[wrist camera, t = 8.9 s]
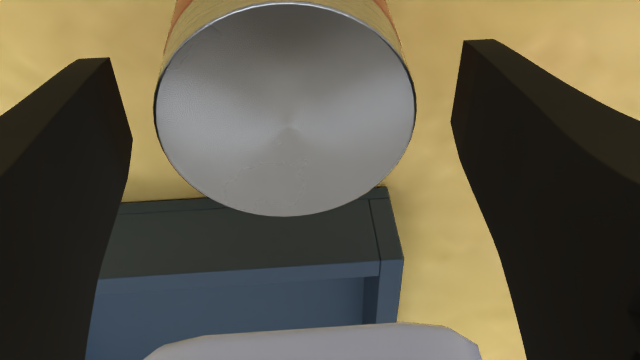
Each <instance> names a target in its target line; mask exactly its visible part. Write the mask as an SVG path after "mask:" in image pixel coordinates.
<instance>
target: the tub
mask: <svg viewBox="0 0 640 360" xmlns="http://www.w3.org/2000/svg"><path fill="white" fill-rule="evenodd" d="M389 198H390V197H389V193H388V189H387V187H382V188H372V189H371V190H370V191H368V192H367V193H365V194H364V195H362V196H360V197H359V198H357V199H355V200H353V201H351V202H349V203H347V204H345V205H342V206H340V207H337V208H334V209H331V210H328V211H324V212H320V213H316V214H311V215H304V216H293V217H272V216H263V215H255V214H251V213H247V212H242V211H239V210H236V209H233V208H230V207H227V206H225V205H222V204H220V203H218V202H216V201H214V200H212V199H210V198H201V199H185V200H168V201H152V202H135V203H120V206H119V210H118V213H117V216H116V220H115V223H114V226H113V229H112V233H111V236H110V239H109V243H108V246H107V249H106V252H105V256H104V259H103V262H102V266H101V270H100V274H99V278H98V282H97V287H96V293H95V299H94V304H93V310H92V316H91V322H90V328H89V335H88V342H87V348H86V355H85V360H143V359H144V358H146V357H147V356H148V355H150V354H151V353H152V352H153V351H155V350H156V349H157V348H159V347H161V346H163V345H165V344H169V343H174V342H178V341H182V340H187V339H191V338H195V337H200V336H204V335H218V334H233V333H248V332H263V331H278V330H292V329H307V328H322V327H337V326H352V325H367V324H382V323H396V322H397V314H398V306H399V297H400V289H401V281H402V273H403V265H404V256H403V252H402V248H401V244H400V240H399V235H398V231H397V227H396V223H395V218H394V214H393V210H392V206H391V201H390V199H389Z"/></svg>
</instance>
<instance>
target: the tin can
mask: <svg viewBox="0 0 640 360" xmlns="http://www.w3.org/2000/svg"><path fill="white" fill-rule="evenodd" d="M416 112H417V104H416V93H415V87H414V82H413V80H412V77H411V74H410V71H409V68H408V66H407V63H406V60H405V57H404V54H403V52H402V49H401V44H400V40H399V38H398V35H397V32H396V29H395V26H394V24H393V21H392V18H391V15H390V13H389V10H388V7H387V4H386V2H385V0H177V2H176V6H175V10H174V14H173V18H172V22H171V26H170V30H169V33H168V37H167V41H166V45H165V49H164V56H163V61H162V65H161V69H160V73H159V77H158V81H157V85H156V89H155V93H154V103H153V115H154V125H155V129H156V133H157V137H158V140H159V142H160V144H161V147H162V149H163V151H164V153H165V155H166V156H167V158H168V160H169V162H170V163H171V165H172V166H173V167H174V168H175V170H176V171H177V172H178V173H179V175H181V176H182V177H183V178H184V179H185V180H186V181H187V182H188V183H189V184H190V185H191V186H192V187H194V188H195V189H196V190H198V191H199V192H200V193H202V194H204V195H205V196H207V197H209V198H210V199H212V200H214V201H216V202H218V203H220V204H222V205H225V206H227V207H230V208H233V209H236V210H239V211H242V212H247V213H251V214H255V215H263V216H272V217H293V216H304V215H311V214H316V213H320V212H324V211H328V210H331V209H334V208H337V207H340V206H342V205H345V204H347V203H349V202H351V201H353V200H355V199H357V198H359V197H360V196H362V195H364V194H365V193H367V192H368V191H370V190H371V189H372V188H374V187H375V186H376V185H378V184H379V183H380V182H381V181H382V180H383V179H384V178H385V177H386V176H387V175H388V174H389V173H390V172H391V171H392V170H393V168H394V167H395V166H396V165H397V164H398V162H399V160H400V159H401V157H402V156H403V154H404V153H405V151H406V148H407V146H408V144H409V142H410V140H411V137H412V133H413V130H414V126H415V120H416Z"/></svg>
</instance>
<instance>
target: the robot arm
mask: <svg viewBox="0 0 640 360" xmlns="http://www.w3.org/2000/svg"><path fill="white" fill-rule="evenodd" d="M451 126H452V131H453V135H454V139H455V144H456V147H457V151H458V155H459V159H460V162H461V164H462V167H463V169H464V172H465V174H466V176H467V179H468V181H469V184H470V186H471V188H472V191H473V193H474V195H475V198H476V200H477V202H478V205H479V207H480V210H481V212H482V214H483V217H484V219H485V221H486V224H487V226H488V228H489V231H490V233H491V235H492V238H493V240H494V243H495V246H496V248H497V251H498V254H499V257H500V260H501V263H502V267H503V270H504V274H505V277H506V281H507V284H508V287H509V291H510V294H511V298H512V302H513V306H514V310H515V313H516V317H517V321H518V325H519V329H520V333H521V336H522V341H523V345H524V349H525V353H526V358H527V360H640V121H639V120H636V119H634V118H632V117H630V116H627V115H625V114H623V113H620V112H618V111H616V110H614V109H612V108H610V107H608V106H606V105H604V104H602V103H600V102H599V101H597V100H595V99H593V98H591V97H589V96H588V95H586V94H584V93H582V92H580V91H578V90H577V89H575V88H573V87H571V86H570V85H568V84H566V83H565V82H563V81H561V80H560V79H558V78H556V77H555V76H553V75H552V74H550V73H548V72H547V71H545V70H544V69H542V68H540V67H539V66H537V65H536V64H534V63H533V62H531V61H529V60H528V59H526V58H525V57H523V56H522V55H520V54H518V53H517V52H515V51H514V50H512V49H510V48H509V47H507V46H505V45H504V44H502V43H500V42H498V41H496V40H494V39H485V40H464V42H463V48H462V54H461V60H460V66H459V72H458V79H457V85H456V91H455V97H454V103H453V110H452V116H451ZM132 142H133V138H132V134H131V131H130V127H129V124H128V120H127V117H126V113H125V110H124V106H123V103H122V99H121V96H120V92H119V89H118V85H117V82H116V78H115V75H114V71H113V68H112V64H111V61H110V57H108V58H87V59H78V60H76V61H75V62H73V63H71V64H70V65H68V66H67V67H65V68H64V69H63V70H61V71H60V72H59V73H57V74H56V75H55V76H53V77H52V78H51V79H49V80H48V81H47V82H45V83H44V84H43V85H42V86H40V87H39V88H38V89H36V90H35V91H34V92H32V93H31V94H30V95H28V96H27V97H26V98H25V99H23V100H22V101H21V102H19V103H18V104H17V105H15V106H14V107H13V108H11V109H10V110H8V111H7V112H5V113H4V114H3V115H1V116H0V360H85V355H86V348H87V342H88V335H89V328H90V322H91V316H92V310H93V304H94V299H95V293H96V287H97V282H98V278H99V274H100V270H101V266H102V262H103V259H104V256H105V252H106V249H107V246H108V243H109V239H110V236H111V233H112V229H113V226H114V223H115V220H116V216H117V213H118V210H119V206H120V203H121V200H122V196H123V193H124V189H125V186H126V182H127V179H128V172H129V166H130V159H131V150H132ZM143 360H482V358H481V355H480V352H479V348H478V345H477V344H475V343H473V342H472V341H470V340H468V339H467V338H465V337H463V336H462V335H460V334H458V333H457V332H455V331H453V330H452V329H450V328H447V327H445V326H440V325H430V324H419V323H409V322H397V323H382V324H367V325H352V326H337V327H322V328H307V329H292V330H278V331H263V332H248V333H233V334H218V335H204V336H200V337H195V338H191V339H187V340H182V341H178V342H174V343H169V344H165V345H163V346H161V347H159V348H157V349H156V350H155V351H153V352H152V353H151V354H150V355H148V356H147V357H146V358H144V359H143Z"/></svg>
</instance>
